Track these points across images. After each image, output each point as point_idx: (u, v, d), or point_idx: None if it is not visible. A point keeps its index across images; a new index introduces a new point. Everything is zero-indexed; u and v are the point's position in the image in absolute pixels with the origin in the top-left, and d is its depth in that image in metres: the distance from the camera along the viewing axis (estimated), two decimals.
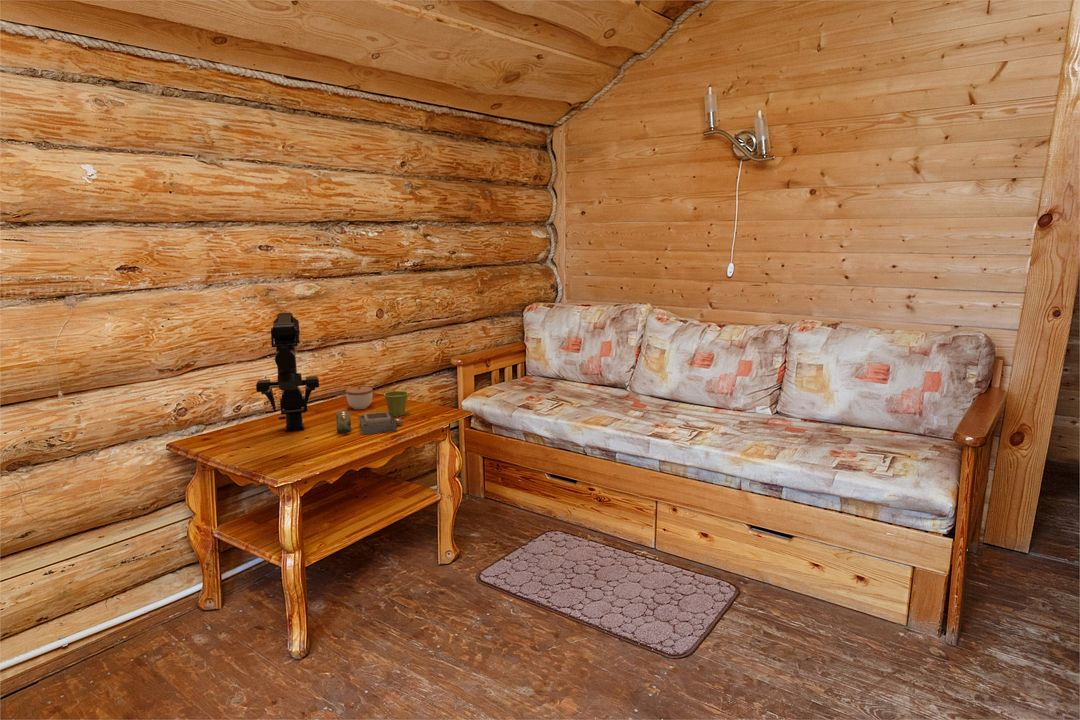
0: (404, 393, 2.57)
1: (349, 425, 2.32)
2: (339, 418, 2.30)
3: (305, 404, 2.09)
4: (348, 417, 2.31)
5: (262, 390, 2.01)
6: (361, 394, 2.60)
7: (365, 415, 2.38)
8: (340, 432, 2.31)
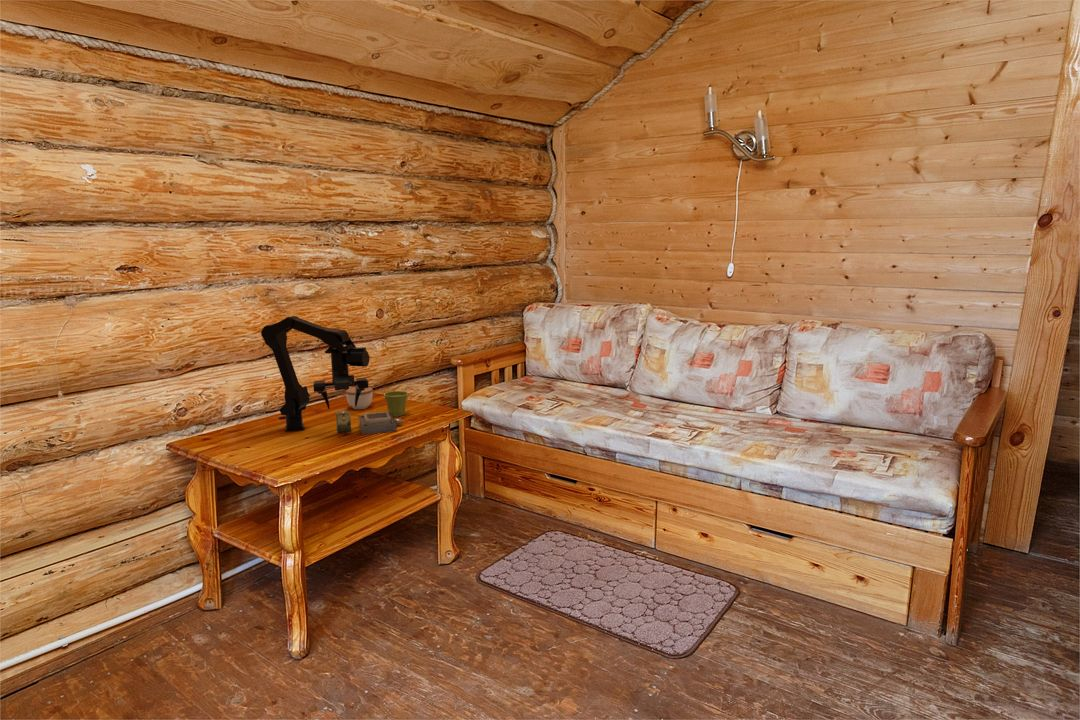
0: (404, 393, 2.57)
1: (349, 425, 2.32)
2: (339, 418, 2.30)
3: (355, 403, 2.32)
4: (348, 417, 2.31)
5: (319, 390, 2.25)
6: (361, 394, 2.60)
7: (365, 415, 2.38)
8: (340, 432, 2.31)
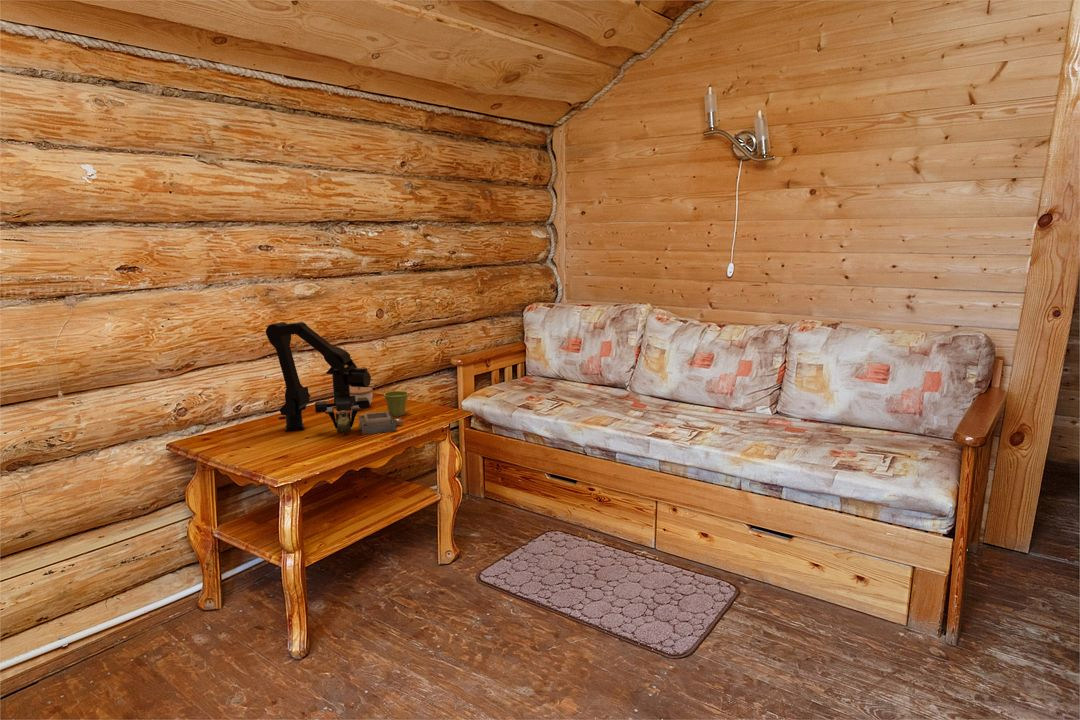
0: (404, 393, 2.57)
1: (349, 425, 2.32)
2: (339, 418, 2.30)
3: (351, 423, 2.33)
4: (348, 417, 2.31)
5: (320, 411, 2.26)
6: (361, 394, 2.60)
7: (365, 415, 2.38)
8: (340, 432, 2.31)
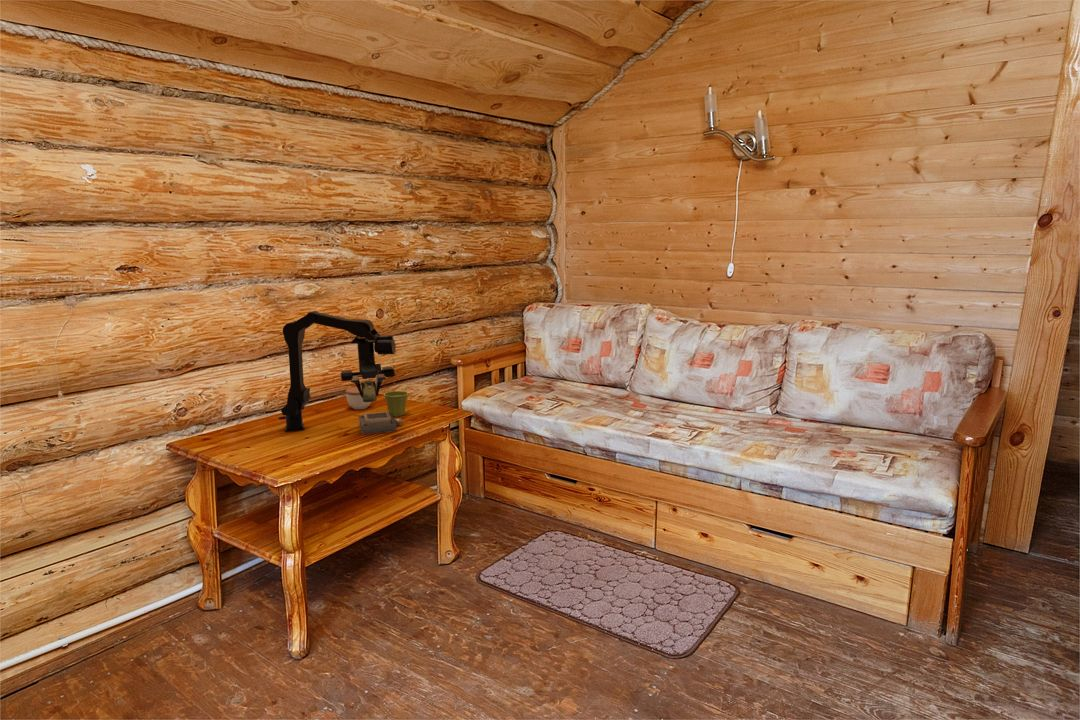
0: (404, 393, 2.57)
1: (374, 394, 2.33)
2: (364, 387, 2.32)
3: (377, 392, 2.35)
4: (373, 386, 2.33)
5: (346, 379, 2.28)
6: None
7: (365, 415, 2.38)
8: (366, 401, 2.33)
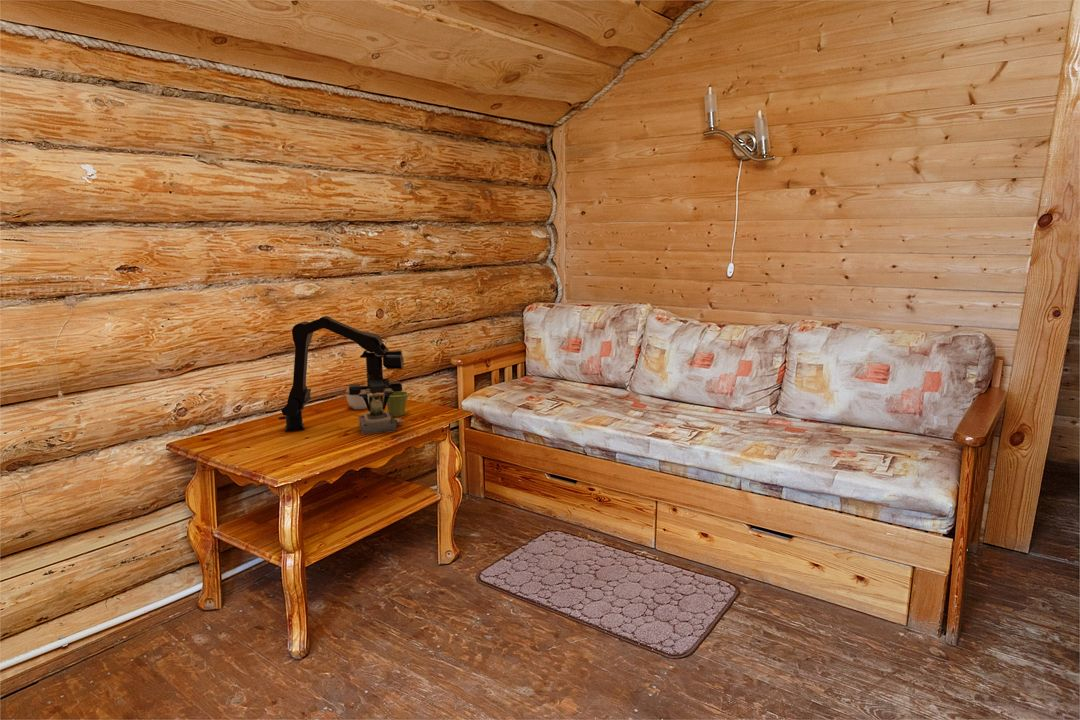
0: (404, 393, 2.57)
1: (381, 408, 2.36)
2: (372, 401, 2.34)
3: (384, 406, 2.37)
4: (381, 400, 2.35)
5: (354, 393, 2.30)
6: None
7: (365, 415, 2.38)
8: (373, 414, 2.35)
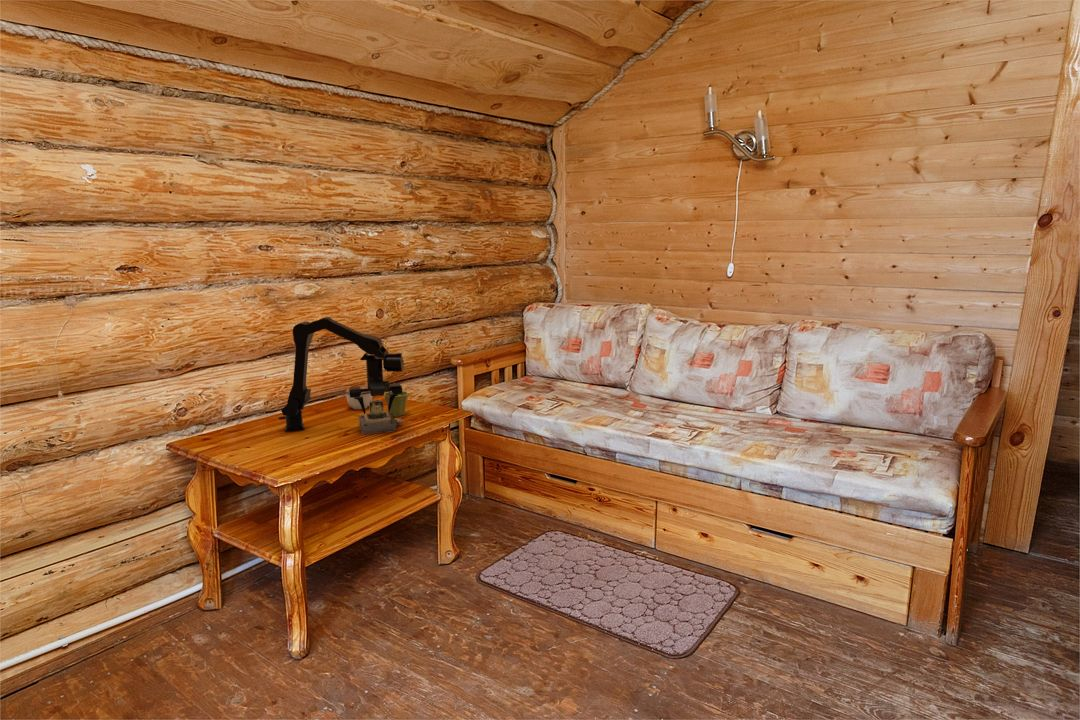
0: (404, 393, 2.57)
1: (382, 413, 2.36)
2: (372, 407, 2.34)
3: (389, 408, 2.38)
4: (381, 405, 2.36)
5: (355, 396, 2.30)
6: None
7: (365, 415, 2.38)
8: None
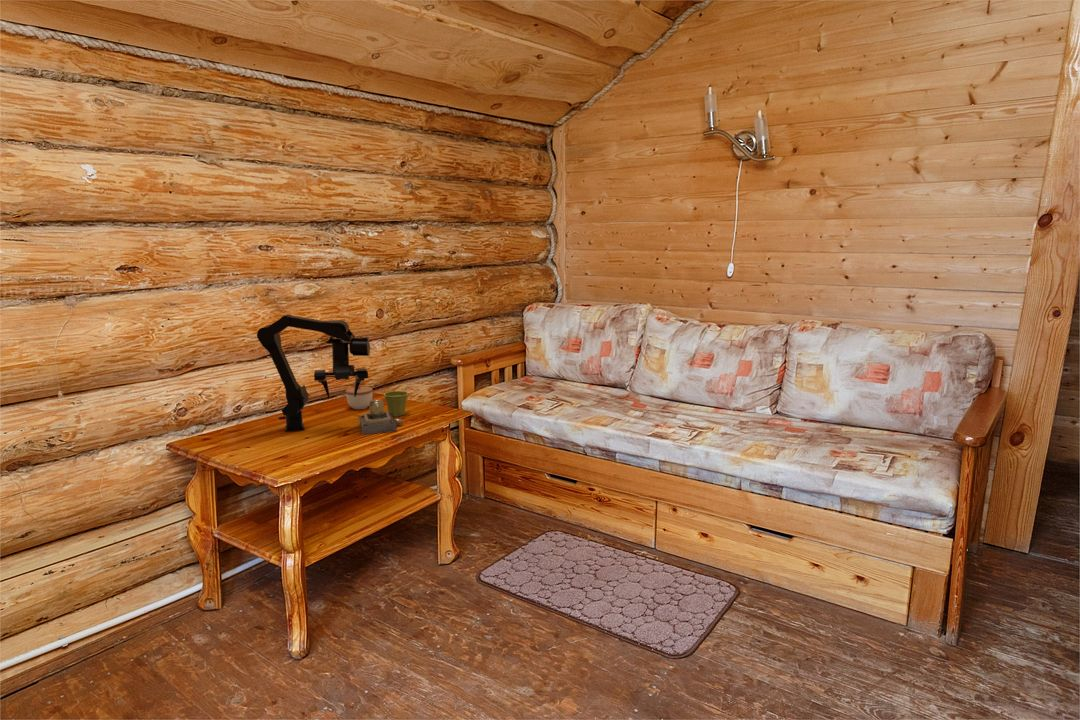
0: (404, 393, 2.57)
1: (382, 413, 2.36)
2: (372, 407, 2.34)
3: (355, 392, 2.37)
4: (381, 405, 2.35)
5: (319, 379, 2.29)
6: (361, 394, 2.60)
7: (365, 415, 2.38)
8: None
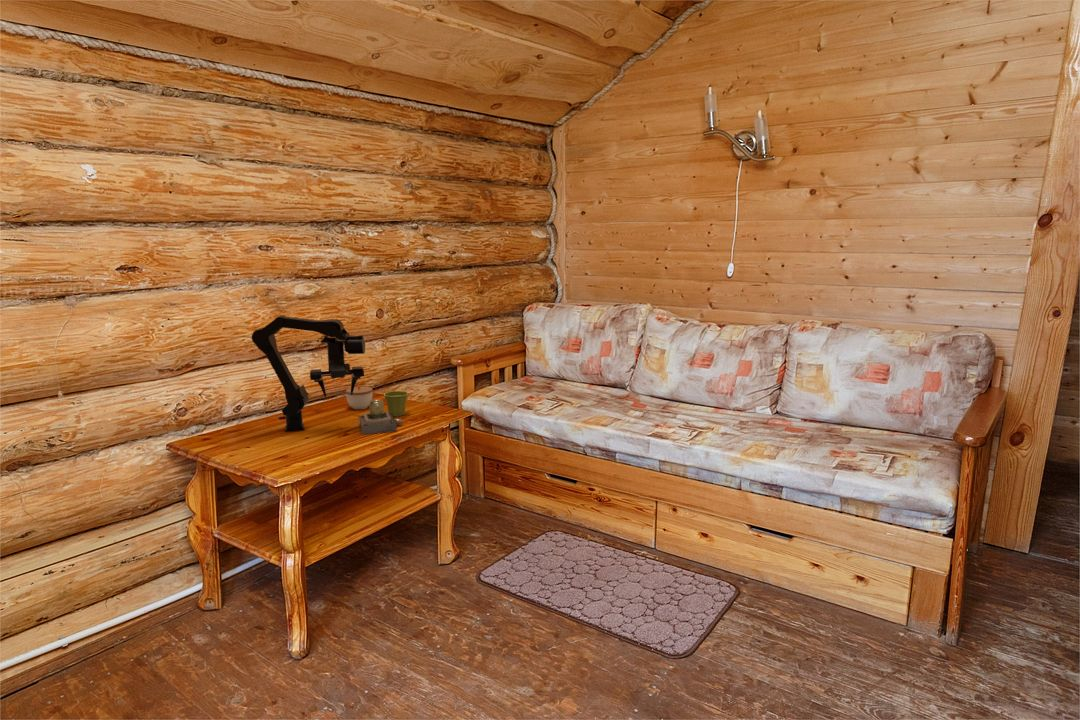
0: (404, 393, 2.57)
1: (382, 413, 2.36)
2: (373, 406, 2.34)
3: (351, 391, 2.37)
4: (381, 405, 2.35)
5: (315, 378, 2.29)
6: (361, 394, 2.60)
7: (365, 415, 2.38)
8: None
